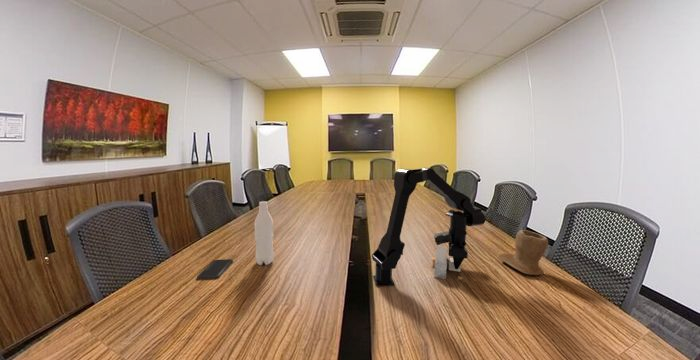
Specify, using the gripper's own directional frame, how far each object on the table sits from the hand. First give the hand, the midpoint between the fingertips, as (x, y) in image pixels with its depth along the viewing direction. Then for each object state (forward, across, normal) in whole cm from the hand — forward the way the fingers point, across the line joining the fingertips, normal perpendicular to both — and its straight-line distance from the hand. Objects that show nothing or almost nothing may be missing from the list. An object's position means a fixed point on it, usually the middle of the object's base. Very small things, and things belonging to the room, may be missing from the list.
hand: (456, 266), depth 100 cm
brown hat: (+1, -11, +25) cm, 27 cm away
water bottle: (+1, +22, -72) cm, 76 cm away
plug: (+1, 0, -4) cm, 4 cm away
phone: (+1, +34, -86) cm, 92 cm away
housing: (+1, 0, -6) cm, 6 cm away
